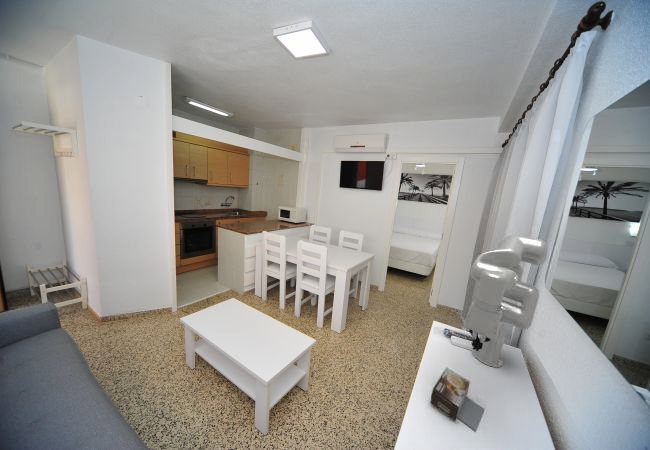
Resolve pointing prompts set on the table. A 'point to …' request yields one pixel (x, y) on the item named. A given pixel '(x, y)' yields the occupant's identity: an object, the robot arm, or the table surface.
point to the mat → (470, 413)
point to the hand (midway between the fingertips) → (476, 348)
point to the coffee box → (450, 393)
